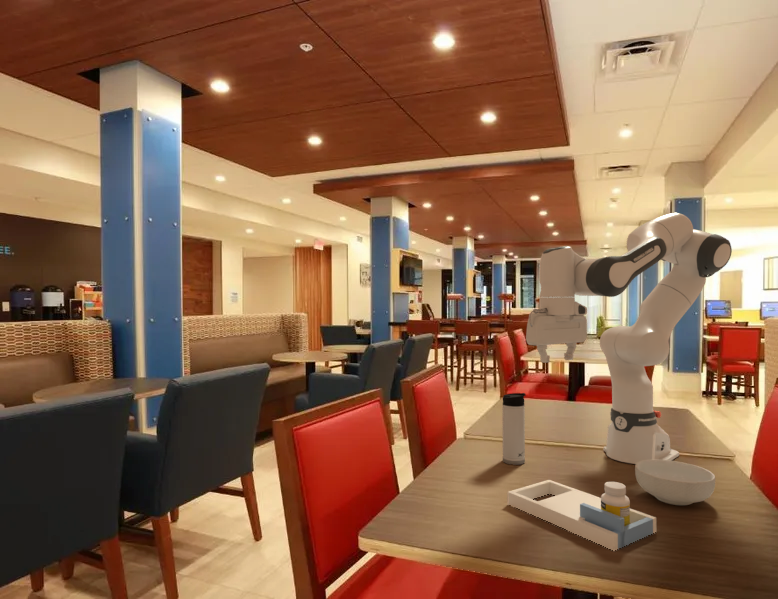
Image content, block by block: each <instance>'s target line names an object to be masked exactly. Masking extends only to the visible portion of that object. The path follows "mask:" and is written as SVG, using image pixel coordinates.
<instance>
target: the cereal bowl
mask: <svg viewBox="0 0 778 599" xmlns="http://www.w3.org/2000/svg"><path fill="white" fill-rule="evenodd" d="M634 465H635V467H634V474H635V478H636V482H637V483H638V485H639V486H640V488H642V490H644V491H645V492H647V493H648V494H649V495H651V496H653V497H654V498H655V499H656V500H658V501H660V502H663V503H665V504H669V505H675V506H688V505H689V506H690V505H692V504H693V503H700V502H703V501H705V500H707V499H709V498H711V496H712V494H713V493H714V491H715V487H716V476H715V473H713V472H712V471H710V470H709V469H706V468H704V467H702V466H698V465H696V464H691V463H688V462H687V463H686V462H682V461H676V460H671V461H670V460H654V459H653V460H642V461H639V462H637V463H636V464H634Z"/></svg>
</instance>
